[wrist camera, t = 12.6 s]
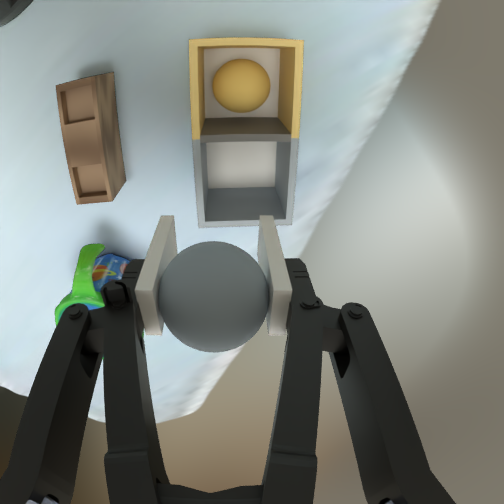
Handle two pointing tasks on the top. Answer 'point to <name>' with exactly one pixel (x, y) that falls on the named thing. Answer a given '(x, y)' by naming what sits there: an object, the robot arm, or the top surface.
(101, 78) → the rack
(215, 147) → the tube block
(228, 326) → the slate ball
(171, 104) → the top surface
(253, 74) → the ochre ball
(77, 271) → the snack cup
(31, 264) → the top surface
